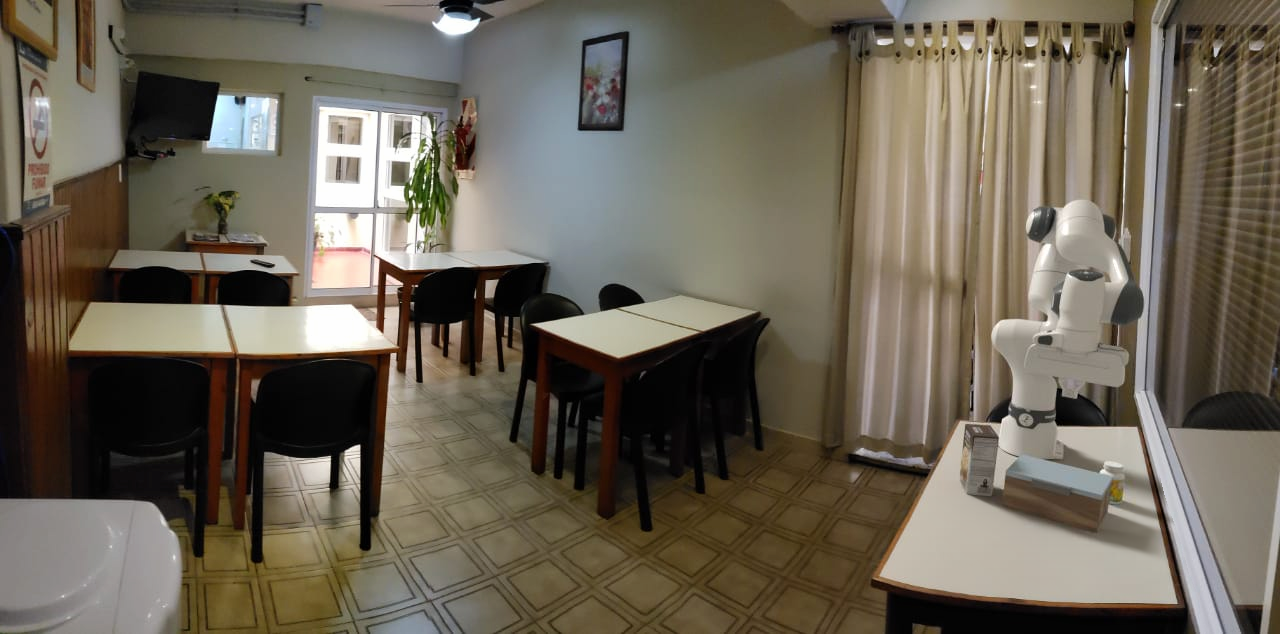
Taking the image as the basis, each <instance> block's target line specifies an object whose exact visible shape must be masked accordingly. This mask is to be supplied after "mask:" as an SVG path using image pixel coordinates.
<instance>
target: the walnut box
mask: <svg viewBox="0 0 1280 634" xmlns="http://www.w3.org/2000/svg"><path fill="white" fill-rule="evenodd" d="M1004 476H1005V477H1004V485H1003V490H1002V491H1003V493H1002V500H1001V506H1003V507H1005V508H1009V509H1013V510H1016V511H1020V512H1023V513H1026V514H1030V515H1033V516H1038V517H1040V518H1044V519H1048V520H1051V521H1054V522H1058V523H1061V524H1065V525H1068V526H1072V527H1075V528H1079V529H1082V530H1085V531H1089V532H1093V533H1095V534H1096V533H1098V530H1099V529H1100V526H1101V525H1102V523H1103V521H1104V519H1105V518H1106V515H1107V513H1108V511H1109V505H1110V504H1109V499H1110V493H1111V486H1112V482H1111V484H1110V486H1109V488H1108V489H1107V491H1106V493H1105V495H1104V496H1103V498H1102V500H1099V499H1095V498H1091V497H1087V496H1084V495H1080V494H1076V493H1072V492H1071V495H1070V496H1066V495H1063V494H1059V493H1055V492H1051V491H1048V490H1044V489H1040V488H1036V487H1033V486H1031V482H1030V481H1026V480H1023V479H1019V478H1015V477H1011V476H1007V475H1004Z"/></svg>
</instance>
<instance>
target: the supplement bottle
mask: <svg viewBox="0 0 1280 634" xmlns="http://www.w3.org/2000/svg"><path fill="white" fill-rule="evenodd" d="M1123 472H1124V465H1123V464H1121V463H1119V462H1117V461H1116V462H1115V461H1110V460H1109V461H1107V460H1106V461H1104V462H1103V469H1101V470H1100V471H1099V473H1101V474H1105V475H1109V476H1113V479H1112V486H1111V493H1110V499H1109V505H1119V504H1121V503H1122V502H1123V496H1124V488H1125V481H1126V475H1125V474H1124V473H1123Z"/></svg>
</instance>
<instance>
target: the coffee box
mask: <svg viewBox="0 0 1280 634" xmlns="http://www.w3.org/2000/svg"><path fill="white" fill-rule="evenodd" d="M962 442H963V443H962V451H961V459H960V460H961V462H960V469H959V482H960V484H961V486H962V488H963V489H964V491H965V494H966V495H972V496H983V497H992V496H993V488H994V482H995V474H996V473H995V472H996V466H997V465H996V464H997V457H998V451H999V450H998V449H999V446H998V443H999V435H998V434H997V432H996V431H995V429H994V428H993V427H992V425H989V424H977V423H976V424H973V423H965V424H964V433H963V441H962Z"/></svg>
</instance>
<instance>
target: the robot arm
mask: <svg viewBox="0 0 1280 634" xmlns="http://www.w3.org/2000/svg"><path fill="white" fill-rule="evenodd" d="M1025 231H1026V236H1027V237H1028V239H1029V240H1031V241H1033V242H1036V243H1038V244H1041V243H1043V244H1044V245H1043V246H1042V247H1041V248H1040V251H1039V253H1038V256H1037V259H1036V261H1035V264H1034V268H1033V270H1032V271H1033V272H1032V275H1031V281H1030V284H1029V289H1028V295H1027V298H1028V302H1029V303H1030V305H1031V306H1032V307H1034V308H1035V309H1036V310H1038V311H1039V312H1041V313H1043V314H1045V315H1046V316H1047V320H1046V321H1039V320H1030V319H1023V318H1010V319H1009V318H1008V319H1001V320H1000V321H998V322H997V323H996V324H995V325H994V327H993V329H992V331H991V335H990V336H991V337H990V339H991V344H992V346H993V347H994V348H995V350H996V351H997V352H998V353H999V354H1001V356H1002V357H1003V358H1004V359H1005V361H1006V362H1007V364H1008V366H1009V368H1010V370H1011V375H1012V396H1011V401H1010V402H1009V405H1008V411H1007V412H1008V415H1006V416H1005V417H1003V418H1002V419H1001V424H1000V430H999V435H998V437H999V443H998V448H1000V449H1001V450H1002V451H1004V452H1005V453H1008V454H1011V455H1013V456H1017V457H1019V456H1020V455H1021V454H1022V455H1026V456H1030V457H1034V458H1039V459H1043V460H1064V441H1063V440H1061V439H1058V433H1059V430H1058V426H1057V423H1056V421H1055V420H1056V415H1057V411H1056V410H1057V409H1056V398H1057V390H1058V385H1059V386H1060V388H1061V389H1062V392H1061V397H1065V398H1071V399H1077V398H1078V394H1079V391H1080V390H1081V388H1083V386H1084V385H1085V384H1086V383H1090V384H1096V385H1102V386H1107V387H1113V388H1119V387H1121V386H1122V385H1123V384H1124V383H1125V380H1126V366H1127V365H1128V363H1129V360H1130V353H1129V351H1128V350H1127V349H1125V348H1123V346H1121V345H1111V344H1107V343H1101V342H1100V341H1101V335H1102V334H1101V333H1102V325H1101V323H1102V324H1103V323H1105V324H1111V325H1118V326H1121V327H1122V326H1124V327H1126V326H1129V325H1131V324H1133V323H1135V322H1136V321H1138V320H1139V319H1141V318H1142V316H1143V313H1144V310H1145V304H1146V303H1145V302H1146V301H1145V297H1144V292H1143V290H1142V289H1141V287H1140V286H1139V284H1138V282H1137V281H1136V278H1135V275H1134V273H1133V272H1134V271H1133V270H1132V267H1131V265H1130V262H1129V259H1128V257H1127V255H1126V253H1125V251H1124V248H1123V247H1122V245H1121V244H1120V243H1118V242H1117V241H1114V240H1115V237H1116V234H1117V222H1116V220H1115V218H1114V217H1112V216H1111V215H1108V214H1105V213H1103V212H1101V210H1100V207H1099V206H1098V205H1097V204H1096V203H1094V202H1093V201H1091V200H1088V199H1075V200H1072V201H1070V202H1068V203H1067V204H1065V205H1064V207H1055V206H1054V207H1053V206H1051V205H1043V206H1042V205H1041V206H1038V207H1036V208H1034V209H1033V210H1032V212H1030V214H1029V215H1028V217H1027V220H1026V223H1025ZM1078 265H1080V266H1085V267H1089V268H1093V270H1092V269H1088V268H1087V269H1086V268H1083V269H1082V268H1080V269H1078V267H1079V266H1078ZM1095 269H1098V271H1097V270H1095ZM1100 271H1102V272H1103V273H1104V272H1105V274H1107V275H1108V276H1109V280H1110V282H1109V281H1107V282H1106V277H1105V275H1104V274H1103V273H1101V272H1100ZM1054 377H1055V378H1058V381H1056V379H1055V378H1054ZM1067 380H1072V381H1076V382H1075V385H1076V387H1075V389H1074V388H1073V389H1072V388H1068V387H1067V384H1066V382H1067ZM1057 382H1058V383H1057Z"/></svg>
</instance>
